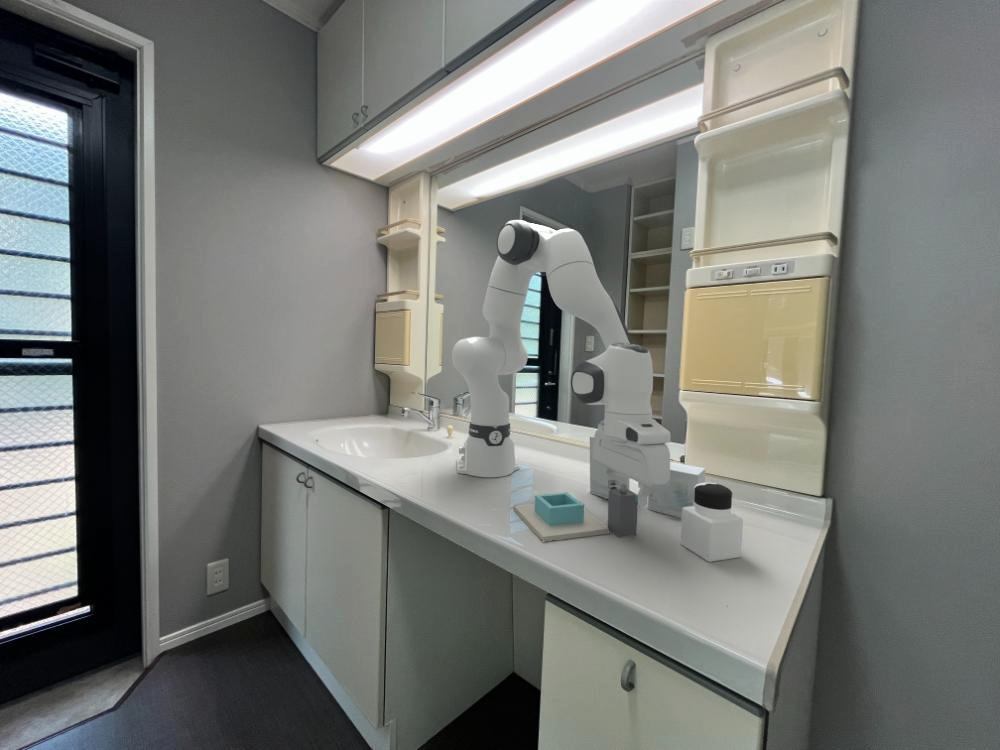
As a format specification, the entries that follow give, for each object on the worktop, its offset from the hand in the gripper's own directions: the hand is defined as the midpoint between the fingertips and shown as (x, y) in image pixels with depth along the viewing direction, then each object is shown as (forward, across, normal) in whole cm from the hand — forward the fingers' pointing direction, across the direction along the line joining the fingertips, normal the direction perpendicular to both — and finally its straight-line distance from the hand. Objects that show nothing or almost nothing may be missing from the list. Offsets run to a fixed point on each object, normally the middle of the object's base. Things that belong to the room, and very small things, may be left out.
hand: (625, 496), depth 81 cm
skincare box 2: (+8, -6, +18) cm, 20 cm away
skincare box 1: (+7, -19, +9) cm, 22 cm away
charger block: (+7, 0, 0) cm, 7 cm away
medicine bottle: (+8, +11, +11) cm, 17 cm away
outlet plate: (+7, -8, -10) cm, 15 cm away
